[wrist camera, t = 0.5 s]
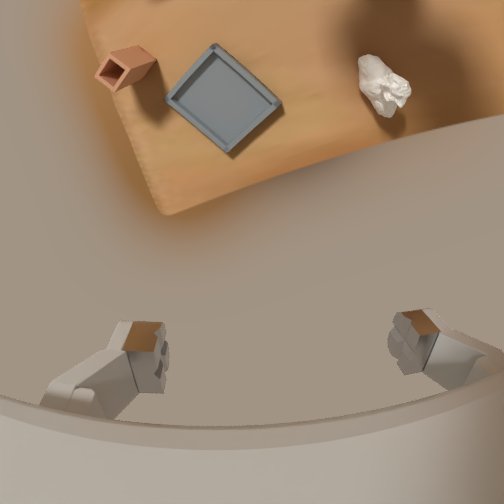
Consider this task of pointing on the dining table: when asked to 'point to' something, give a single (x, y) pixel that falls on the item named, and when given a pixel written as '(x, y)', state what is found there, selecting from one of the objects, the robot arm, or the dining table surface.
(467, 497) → the robot arm
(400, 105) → the bust
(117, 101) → the dining table surface
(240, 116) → the tray
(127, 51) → the cup
